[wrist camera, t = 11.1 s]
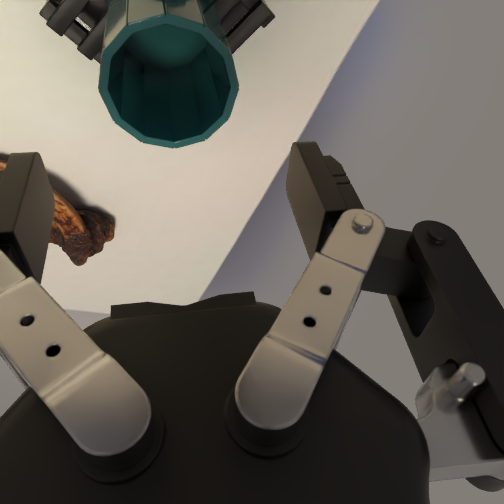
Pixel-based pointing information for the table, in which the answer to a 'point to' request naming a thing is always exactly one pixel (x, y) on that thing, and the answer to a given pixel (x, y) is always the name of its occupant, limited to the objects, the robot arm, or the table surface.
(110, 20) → the cup
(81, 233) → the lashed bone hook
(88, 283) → the table surface
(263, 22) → the rack
